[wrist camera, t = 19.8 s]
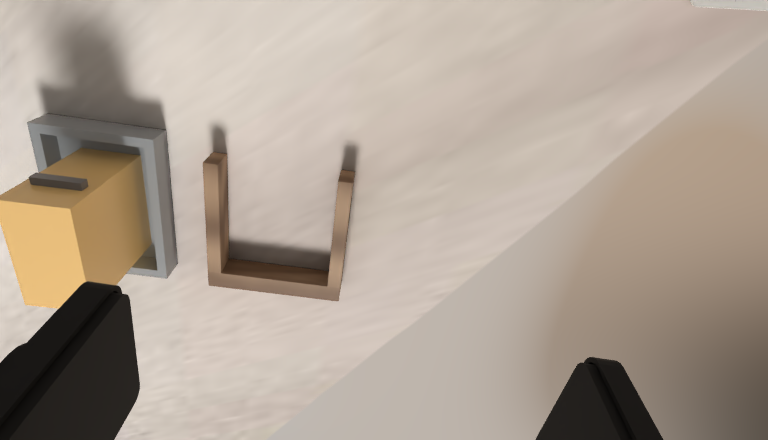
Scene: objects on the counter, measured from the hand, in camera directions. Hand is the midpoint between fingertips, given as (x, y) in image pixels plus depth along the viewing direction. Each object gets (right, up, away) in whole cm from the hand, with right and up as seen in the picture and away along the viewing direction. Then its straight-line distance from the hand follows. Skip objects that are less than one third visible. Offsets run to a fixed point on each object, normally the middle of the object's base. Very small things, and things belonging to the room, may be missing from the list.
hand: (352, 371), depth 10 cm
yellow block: (-23, +5, +32) cm, 40 cm away
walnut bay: (-9, +4, +34) cm, 35 cm away
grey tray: (-24, +5, +33) cm, 41 cm away
